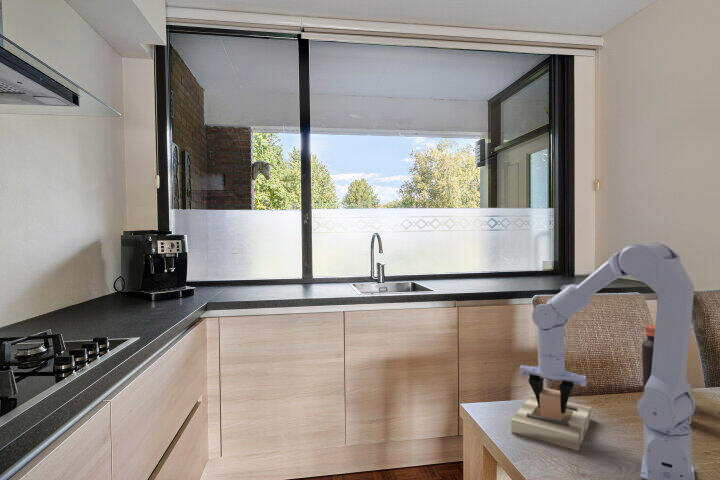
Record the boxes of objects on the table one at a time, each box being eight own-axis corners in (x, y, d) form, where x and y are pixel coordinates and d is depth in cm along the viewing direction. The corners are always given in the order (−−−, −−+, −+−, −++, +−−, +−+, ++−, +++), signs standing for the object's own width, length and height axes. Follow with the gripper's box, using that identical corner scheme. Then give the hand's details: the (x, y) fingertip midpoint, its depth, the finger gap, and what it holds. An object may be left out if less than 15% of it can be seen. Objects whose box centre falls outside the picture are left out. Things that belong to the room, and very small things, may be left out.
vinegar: (674, 407, 104) (672, 331, 104) (642, 401, 108) (641, 328, 108) (673, 398, 110) (672, 326, 110) (643, 393, 114) (641, 323, 114)
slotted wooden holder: (578, 450, 85) (578, 434, 85) (511, 432, 93) (511, 417, 93) (591, 418, 99) (591, 404, 99) (532, 405, 107) (531, 392, 107)
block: (560, 423, 93) (559, 397, 93) (540, 418, 96) (539, 393, 96) (564, 416, 96) (563, 391, 96) (544, 411, 99) (544, 387, 99)
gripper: (587, 353, 95) (589, 410, 95) (524, 345, 104) (525, 397, 104) (582, 361, 89) (584, 421, 89) (516, 351, 98) (517, 406, 98)
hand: (552, 409), depth 96 cm, fingers closed on block, 4 cm apart
